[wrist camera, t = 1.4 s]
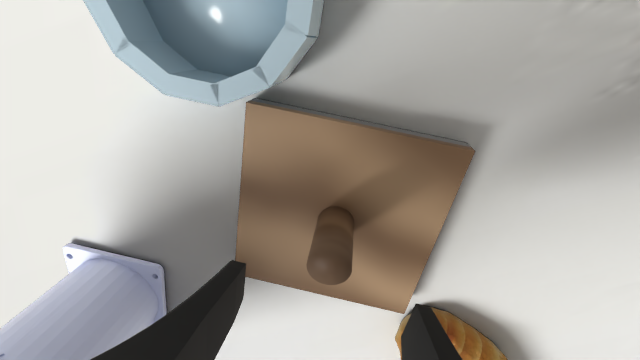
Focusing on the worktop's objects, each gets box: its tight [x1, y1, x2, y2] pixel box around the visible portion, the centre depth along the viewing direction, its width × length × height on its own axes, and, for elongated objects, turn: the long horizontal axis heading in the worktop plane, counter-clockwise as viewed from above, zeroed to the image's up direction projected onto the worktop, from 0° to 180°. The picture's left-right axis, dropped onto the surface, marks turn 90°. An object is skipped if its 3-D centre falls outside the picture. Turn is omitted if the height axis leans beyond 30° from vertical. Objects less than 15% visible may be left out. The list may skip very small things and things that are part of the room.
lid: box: [235, 101, 475, 314], centre depth 16 cm, size 12×12×5 cm
